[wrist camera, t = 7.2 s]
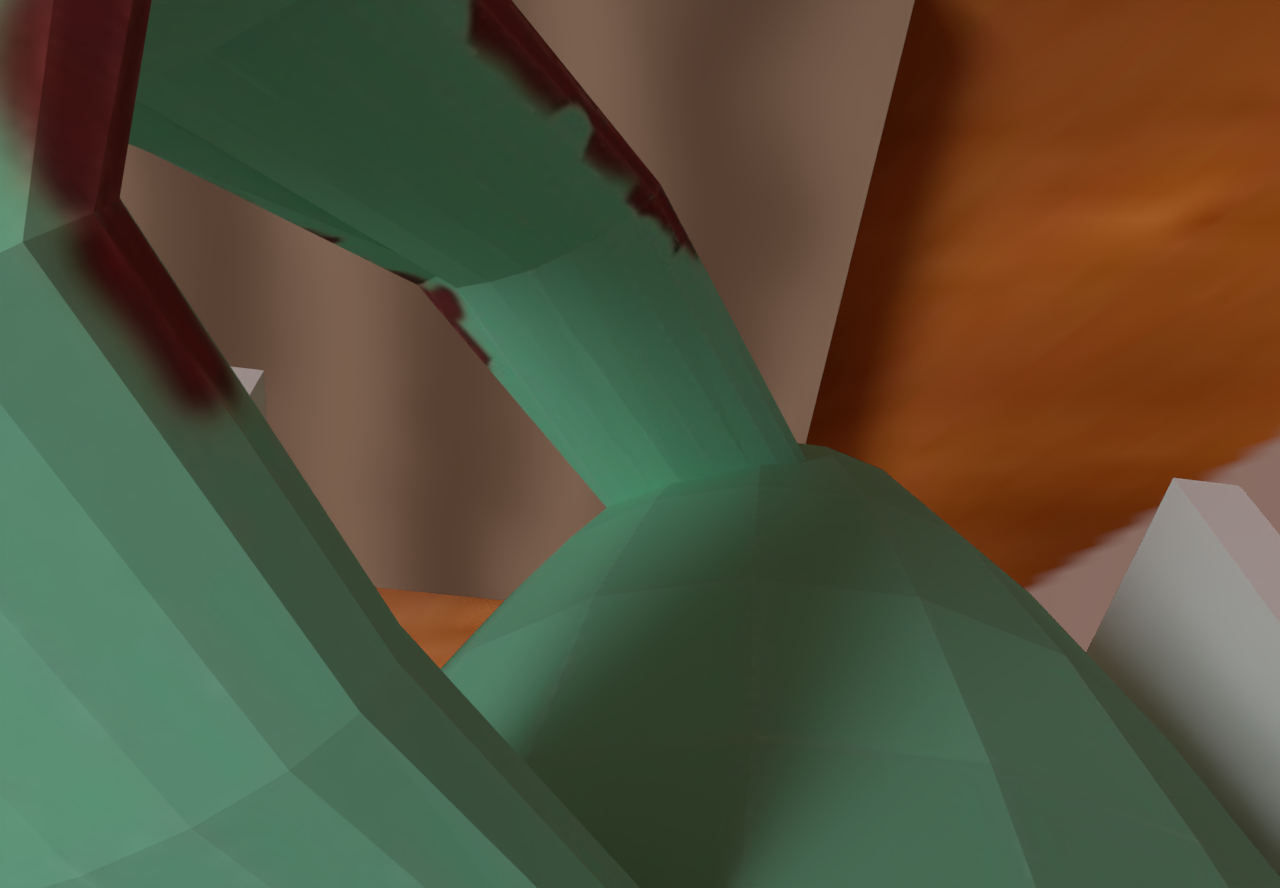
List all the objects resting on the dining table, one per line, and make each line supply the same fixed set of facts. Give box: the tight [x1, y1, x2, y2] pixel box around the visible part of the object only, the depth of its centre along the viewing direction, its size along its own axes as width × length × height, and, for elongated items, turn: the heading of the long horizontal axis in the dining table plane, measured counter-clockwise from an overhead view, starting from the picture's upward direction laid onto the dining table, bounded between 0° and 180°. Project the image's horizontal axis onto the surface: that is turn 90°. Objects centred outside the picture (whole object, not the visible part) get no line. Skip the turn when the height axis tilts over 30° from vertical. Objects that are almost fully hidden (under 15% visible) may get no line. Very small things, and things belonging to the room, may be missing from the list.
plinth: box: [120, 0, 915, 600], centre depth 31 cm, size 20×20×4 cm
